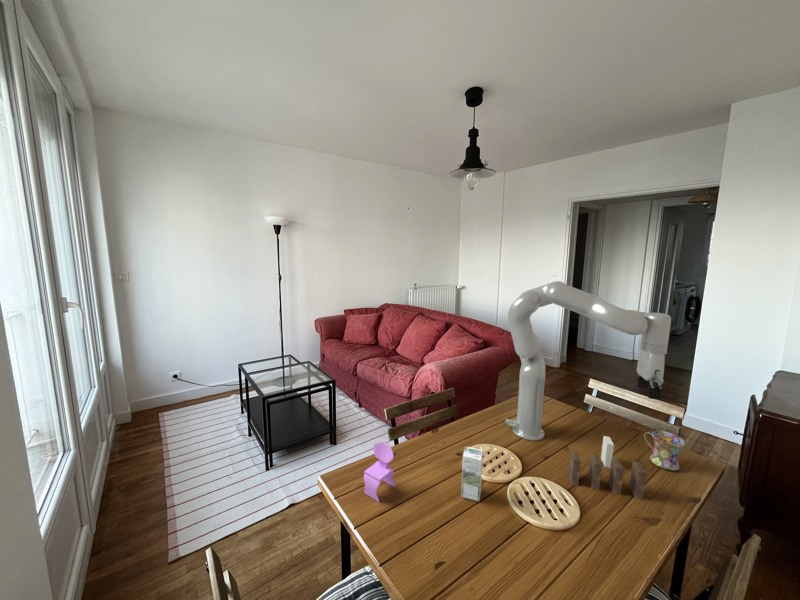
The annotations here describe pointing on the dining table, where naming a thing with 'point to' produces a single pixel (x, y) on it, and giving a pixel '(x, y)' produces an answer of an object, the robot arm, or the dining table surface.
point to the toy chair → (379, 470)
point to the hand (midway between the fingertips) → (647, 392)
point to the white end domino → (607, 451)
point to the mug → (665, 449)
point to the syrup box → (471, 473)
